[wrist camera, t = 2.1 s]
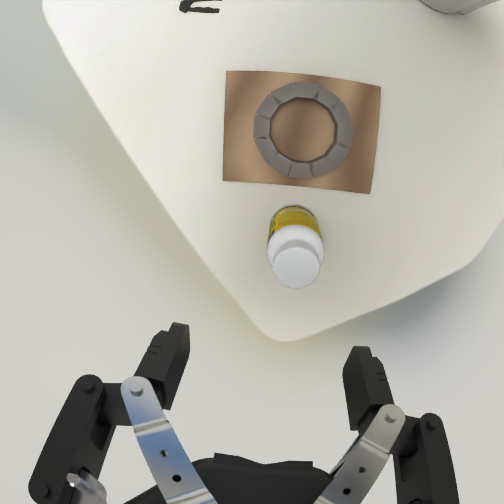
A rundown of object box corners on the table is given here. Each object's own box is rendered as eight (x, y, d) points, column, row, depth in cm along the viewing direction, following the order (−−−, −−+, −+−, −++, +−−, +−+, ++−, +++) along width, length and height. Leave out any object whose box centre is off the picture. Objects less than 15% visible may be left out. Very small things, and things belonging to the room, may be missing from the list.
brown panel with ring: (378, 88, 24) (387, 85, 21) (367, 191, 29) (375, 199, 27) (228, 72, 25) (222, 67, 22) (224, 178, 30) (218, 184, 28)
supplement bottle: (267, 205, 31) (261, 240, 23) (316, 202, 31) (329, 236, 22) (271, 249, 34) (267, 297, 25) (317, 246, 33) (328, 293, 24)
